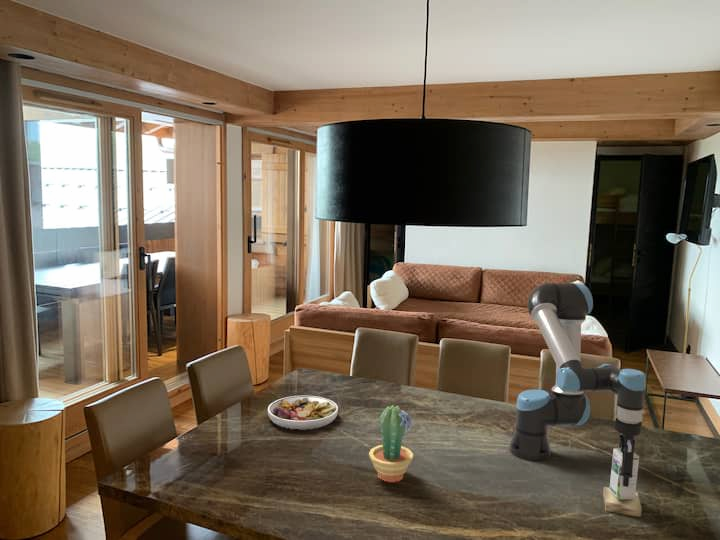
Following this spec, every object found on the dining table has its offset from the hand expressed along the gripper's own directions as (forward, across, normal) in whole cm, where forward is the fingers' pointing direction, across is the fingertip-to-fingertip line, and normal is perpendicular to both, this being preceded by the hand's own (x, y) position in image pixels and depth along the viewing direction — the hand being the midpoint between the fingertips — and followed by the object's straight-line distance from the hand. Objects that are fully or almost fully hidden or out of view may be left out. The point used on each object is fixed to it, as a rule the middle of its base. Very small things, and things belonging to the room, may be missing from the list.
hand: (622, 488), depth 182 cm
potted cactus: (+6, -7, +74) cm, 75 cm away
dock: (+6, 0, 0) cm, 6 cm away
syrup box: (+2, 0, 0) cm, 2 cm away
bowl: (+7, +29, +123) cm, 127 cm away
